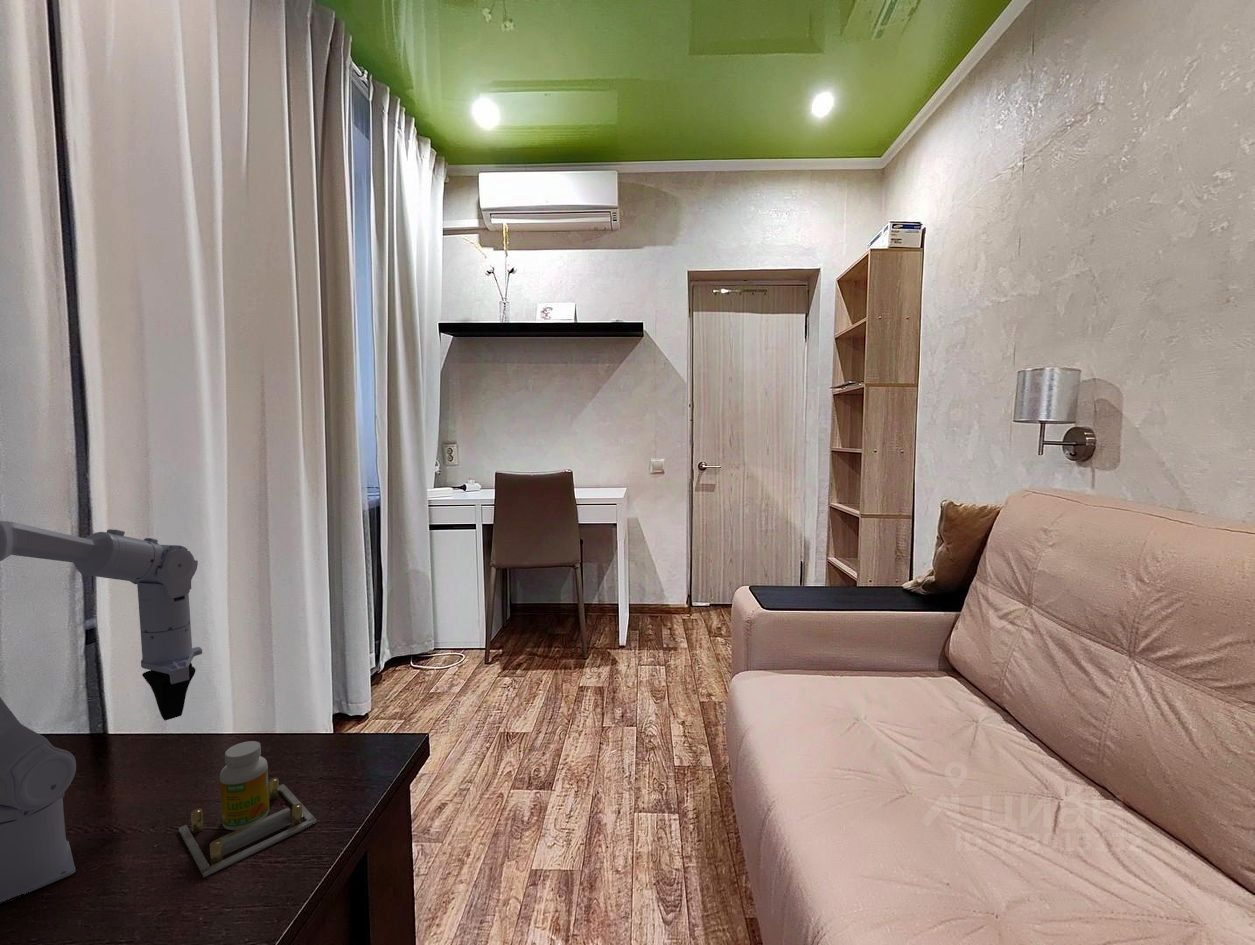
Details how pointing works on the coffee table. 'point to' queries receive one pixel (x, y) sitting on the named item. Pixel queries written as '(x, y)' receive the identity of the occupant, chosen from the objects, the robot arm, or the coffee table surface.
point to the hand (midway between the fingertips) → (172, 716)
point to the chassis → (248, 832)
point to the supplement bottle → (244, 786)
